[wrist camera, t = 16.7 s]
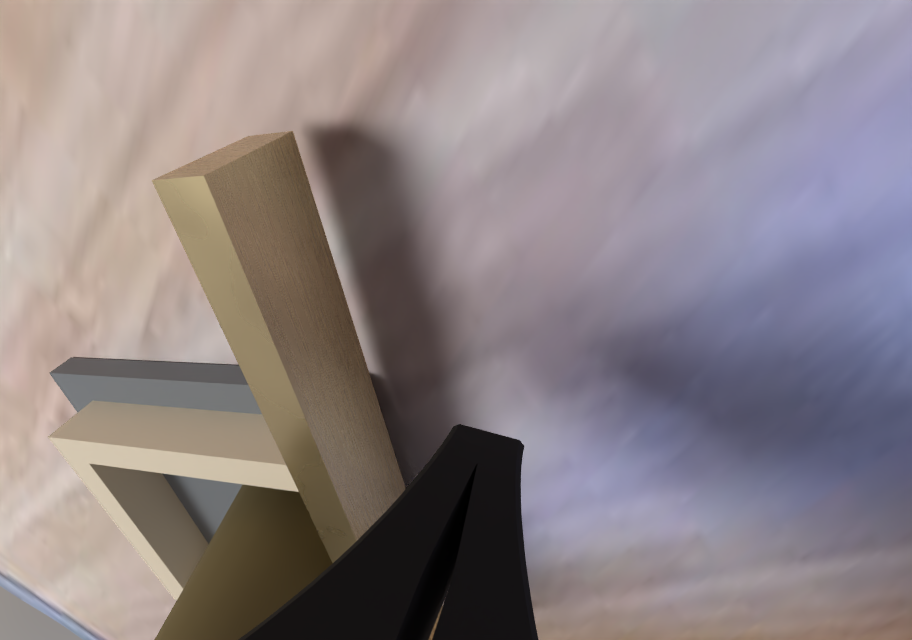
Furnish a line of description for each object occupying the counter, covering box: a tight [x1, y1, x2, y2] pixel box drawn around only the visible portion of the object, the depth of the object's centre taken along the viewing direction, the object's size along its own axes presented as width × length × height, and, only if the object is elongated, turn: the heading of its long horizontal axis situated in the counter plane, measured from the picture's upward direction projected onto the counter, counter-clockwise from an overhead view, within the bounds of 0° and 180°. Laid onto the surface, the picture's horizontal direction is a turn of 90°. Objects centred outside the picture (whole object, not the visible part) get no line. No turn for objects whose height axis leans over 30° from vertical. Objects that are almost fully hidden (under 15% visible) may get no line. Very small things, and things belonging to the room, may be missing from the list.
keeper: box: [152, 131, 443, 640], centre depth 16 cm, size 21×2×3 cm, turn 10°
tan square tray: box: [48, 358, 299, 600], centre depth 21 cm, size 13×13×3 cm
